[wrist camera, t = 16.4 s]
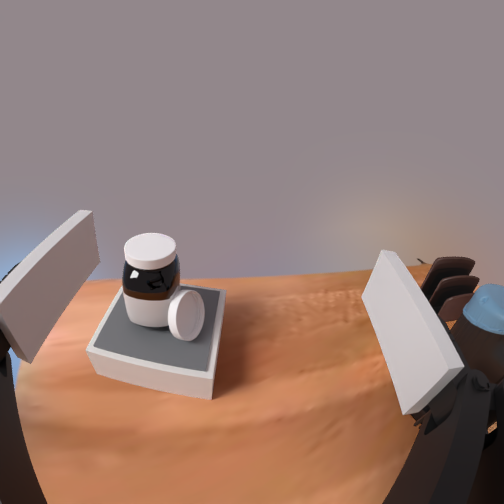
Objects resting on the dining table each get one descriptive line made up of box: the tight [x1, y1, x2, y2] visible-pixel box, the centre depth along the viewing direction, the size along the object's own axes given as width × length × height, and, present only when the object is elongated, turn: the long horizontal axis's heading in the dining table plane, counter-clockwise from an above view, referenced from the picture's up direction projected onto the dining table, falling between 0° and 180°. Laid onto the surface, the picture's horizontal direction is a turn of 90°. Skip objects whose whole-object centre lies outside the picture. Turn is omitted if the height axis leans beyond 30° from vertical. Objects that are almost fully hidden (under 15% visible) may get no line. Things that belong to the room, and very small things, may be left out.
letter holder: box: [420, 257, 479, 322], centre depth 56 cm, size 10×20×14 cm, turn 97°
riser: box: [86, 283, 226, 400], centre depth 40 cm, size 18×18×6 cm
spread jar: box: [122, 233, 205, 341], centre depth 36 cm, size 12×11×12 cm
